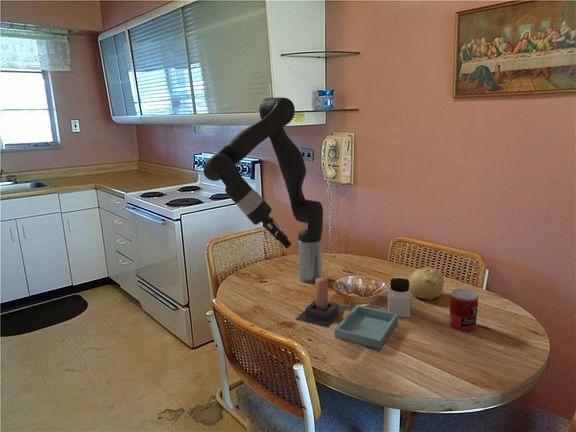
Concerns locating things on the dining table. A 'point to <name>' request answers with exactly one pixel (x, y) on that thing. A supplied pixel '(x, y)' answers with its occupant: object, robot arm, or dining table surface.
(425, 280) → the pale yellow round lump
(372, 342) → the tray
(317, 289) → the dowel
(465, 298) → the canned food
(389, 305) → the medicine bottle
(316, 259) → the robot arm
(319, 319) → the holder
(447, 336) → the dining table surface
